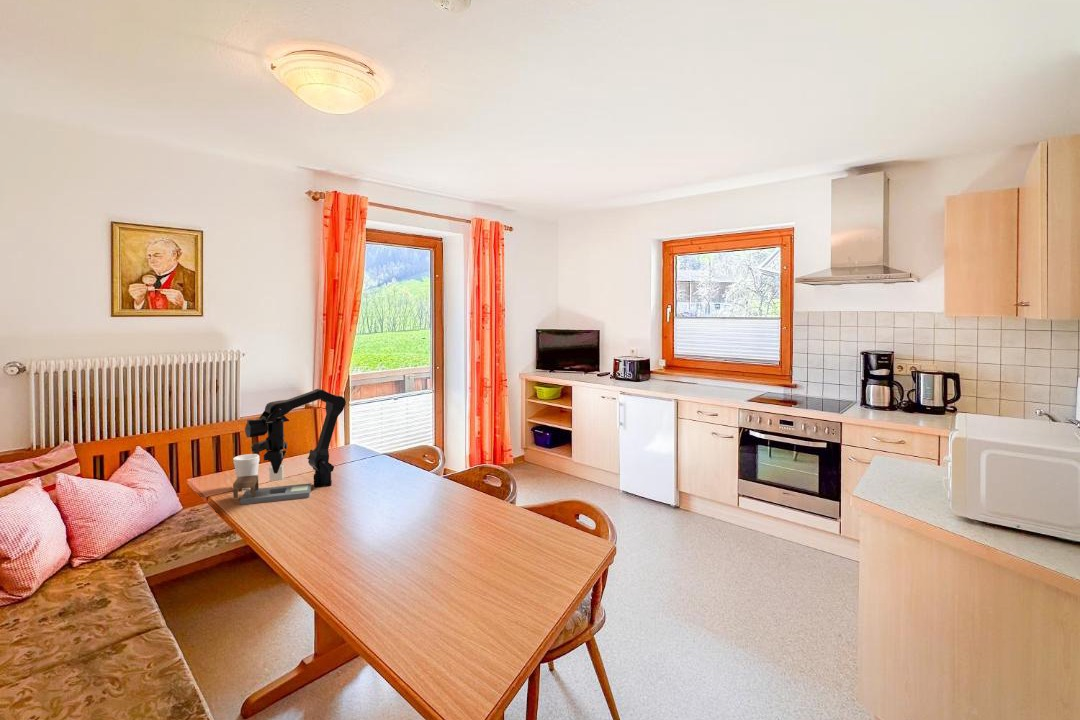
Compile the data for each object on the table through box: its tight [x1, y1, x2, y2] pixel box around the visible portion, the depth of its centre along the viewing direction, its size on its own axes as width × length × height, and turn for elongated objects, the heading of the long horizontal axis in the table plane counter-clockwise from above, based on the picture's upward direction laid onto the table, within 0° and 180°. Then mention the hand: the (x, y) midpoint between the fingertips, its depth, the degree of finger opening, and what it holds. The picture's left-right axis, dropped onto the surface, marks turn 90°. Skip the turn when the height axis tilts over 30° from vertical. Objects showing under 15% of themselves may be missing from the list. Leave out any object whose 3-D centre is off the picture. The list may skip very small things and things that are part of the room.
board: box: [240, 483, 313, 506], centre depth 197 cm, size 24×12×2 cm, turn 111°
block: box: [268, 463, 285, 482], centre depth 196 cm, size 4×4×6 cm
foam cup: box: [232, 453, 260, 490], centre depth 207 cm, size 10×9×13 cm
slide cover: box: [232, 474, 259, 500], centre depth 193 cm, size 7×9×6 cm
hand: (276, 471), depth 196 cm, fingers closed on block, 4 cm apart
